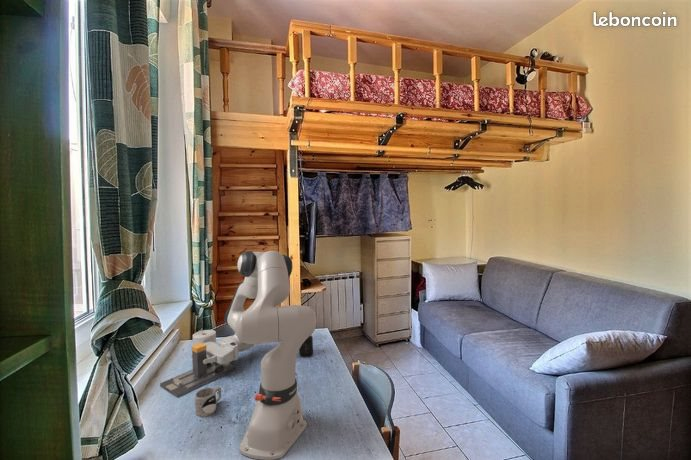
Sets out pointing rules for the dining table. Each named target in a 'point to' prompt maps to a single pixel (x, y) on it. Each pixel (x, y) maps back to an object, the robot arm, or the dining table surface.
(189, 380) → the breaker panel
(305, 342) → the supplement bottle
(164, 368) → the dining table surface
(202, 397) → the mug
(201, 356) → the breaker handle
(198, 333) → the toilet tissue
